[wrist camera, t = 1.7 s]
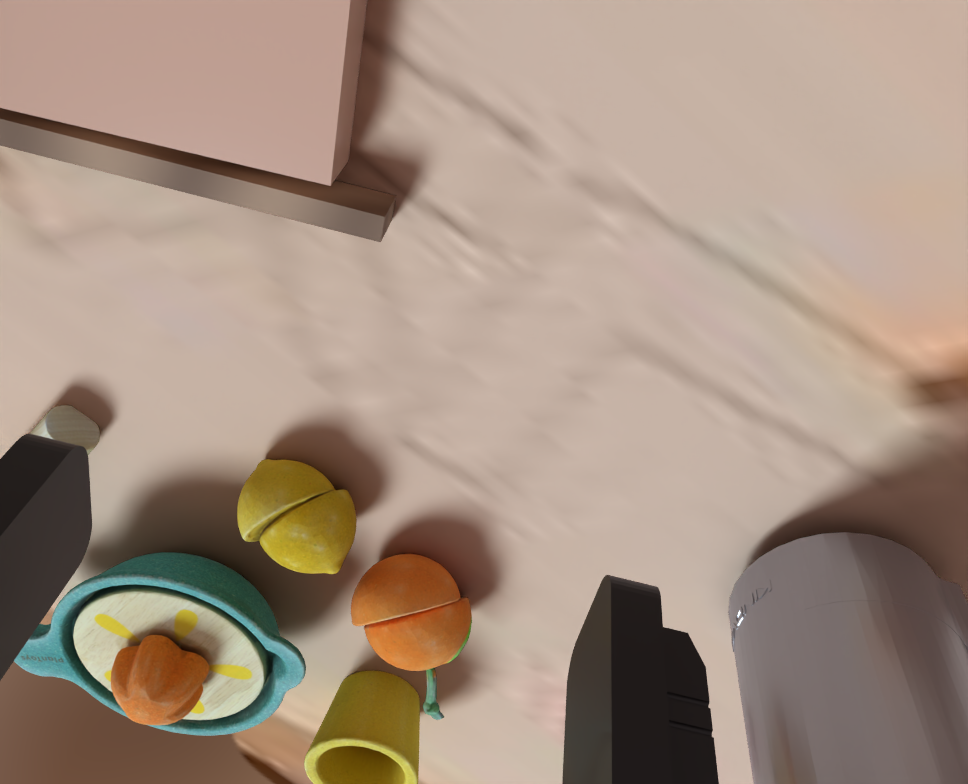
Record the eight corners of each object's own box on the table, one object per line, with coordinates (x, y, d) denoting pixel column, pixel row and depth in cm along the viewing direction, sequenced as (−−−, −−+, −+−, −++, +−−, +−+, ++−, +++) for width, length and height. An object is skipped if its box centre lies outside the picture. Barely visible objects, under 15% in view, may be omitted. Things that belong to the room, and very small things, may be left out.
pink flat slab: (375, -48, 29) (353, -34, 26) (351, 156, 33) (330, 186, 30) (12, -136, 28) (-44, -130, 26) (32, 80, 32) (-15, 104, 30)
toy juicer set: (544, 537, 42) (532, 670, 36) (412, 735, 52) (385, 867, 46) (-52, 297, 38) (-184, 398, 32) (-70, 561, 48) (-173, 678, 42)
